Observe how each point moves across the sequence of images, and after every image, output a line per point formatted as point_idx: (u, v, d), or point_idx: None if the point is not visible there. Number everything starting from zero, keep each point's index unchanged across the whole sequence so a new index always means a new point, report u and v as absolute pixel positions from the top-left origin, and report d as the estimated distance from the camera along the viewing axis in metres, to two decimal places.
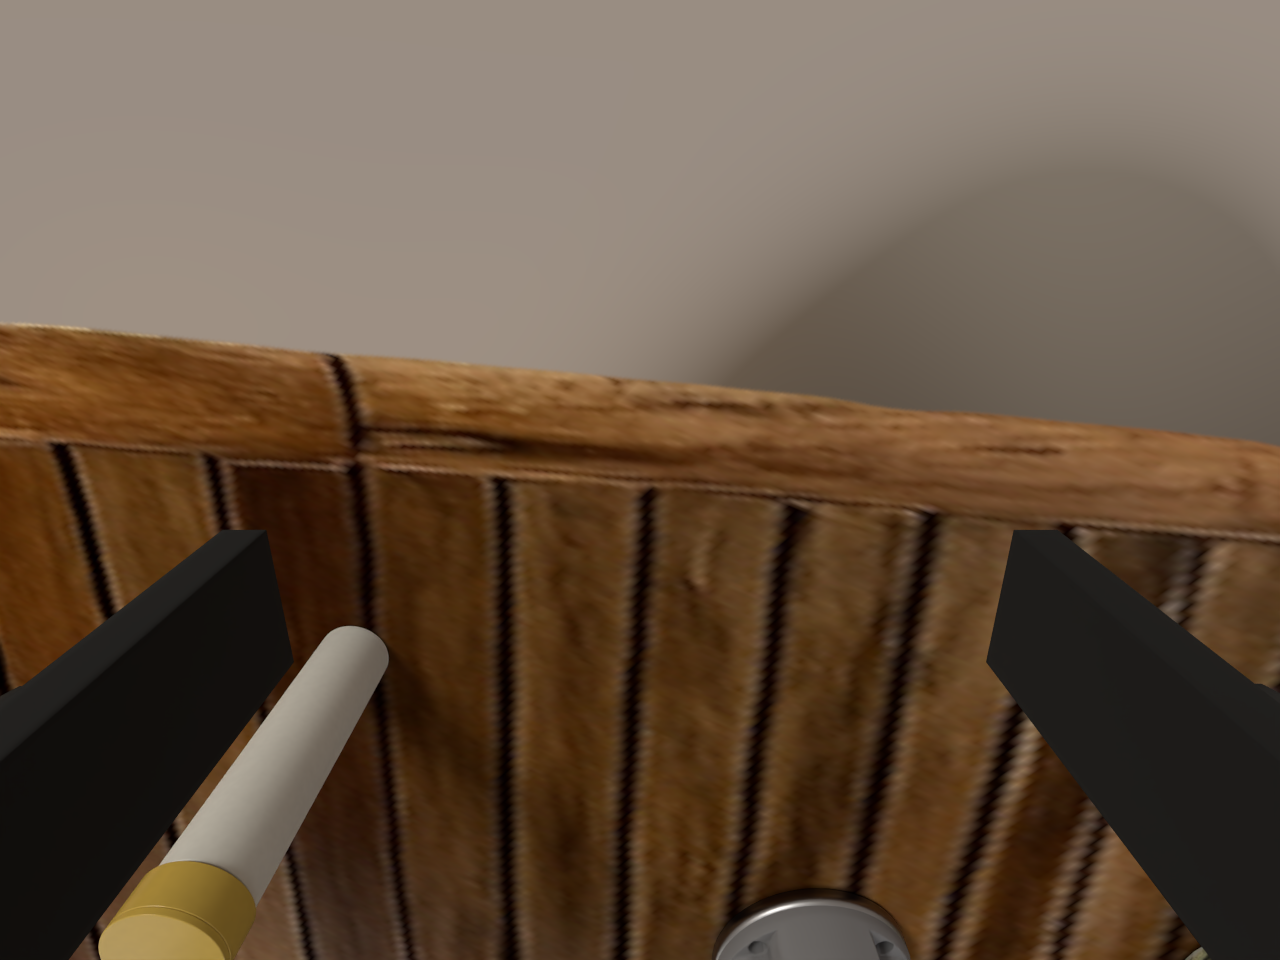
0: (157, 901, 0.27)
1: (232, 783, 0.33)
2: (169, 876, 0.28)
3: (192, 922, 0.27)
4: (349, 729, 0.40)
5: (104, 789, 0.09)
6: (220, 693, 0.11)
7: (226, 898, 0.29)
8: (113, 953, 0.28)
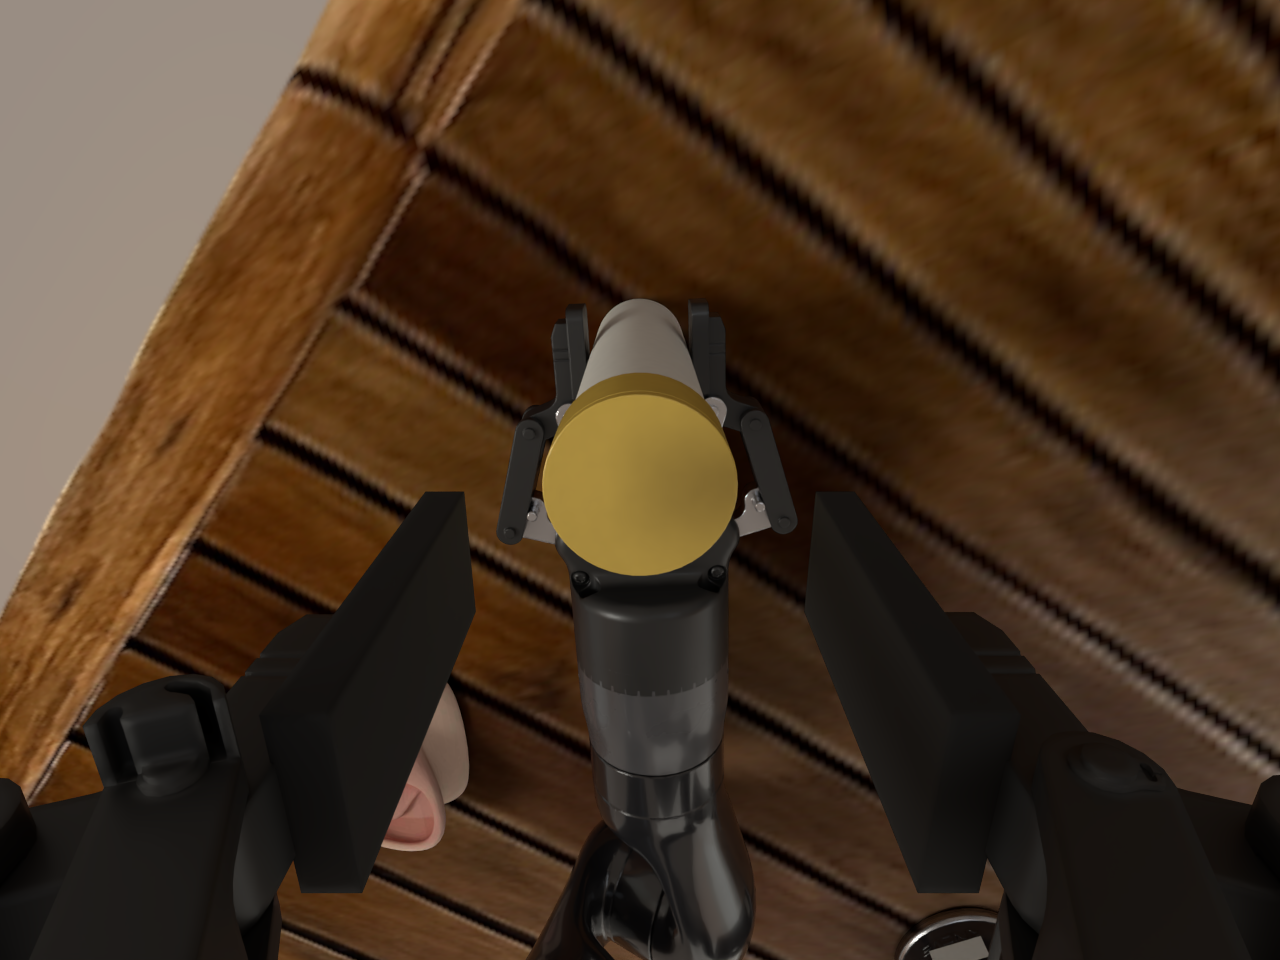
0: (559, 430, 0.18)
1: None
2: (559, 424, 0.19)
3: (610, 399, 0.17)
4: (674, 332, 0.29)
5: (400, 695, 0.10)
6: (445, 629, 0.13)
7: (637, 380, 0.18)
8: (590, 539, 0.18)
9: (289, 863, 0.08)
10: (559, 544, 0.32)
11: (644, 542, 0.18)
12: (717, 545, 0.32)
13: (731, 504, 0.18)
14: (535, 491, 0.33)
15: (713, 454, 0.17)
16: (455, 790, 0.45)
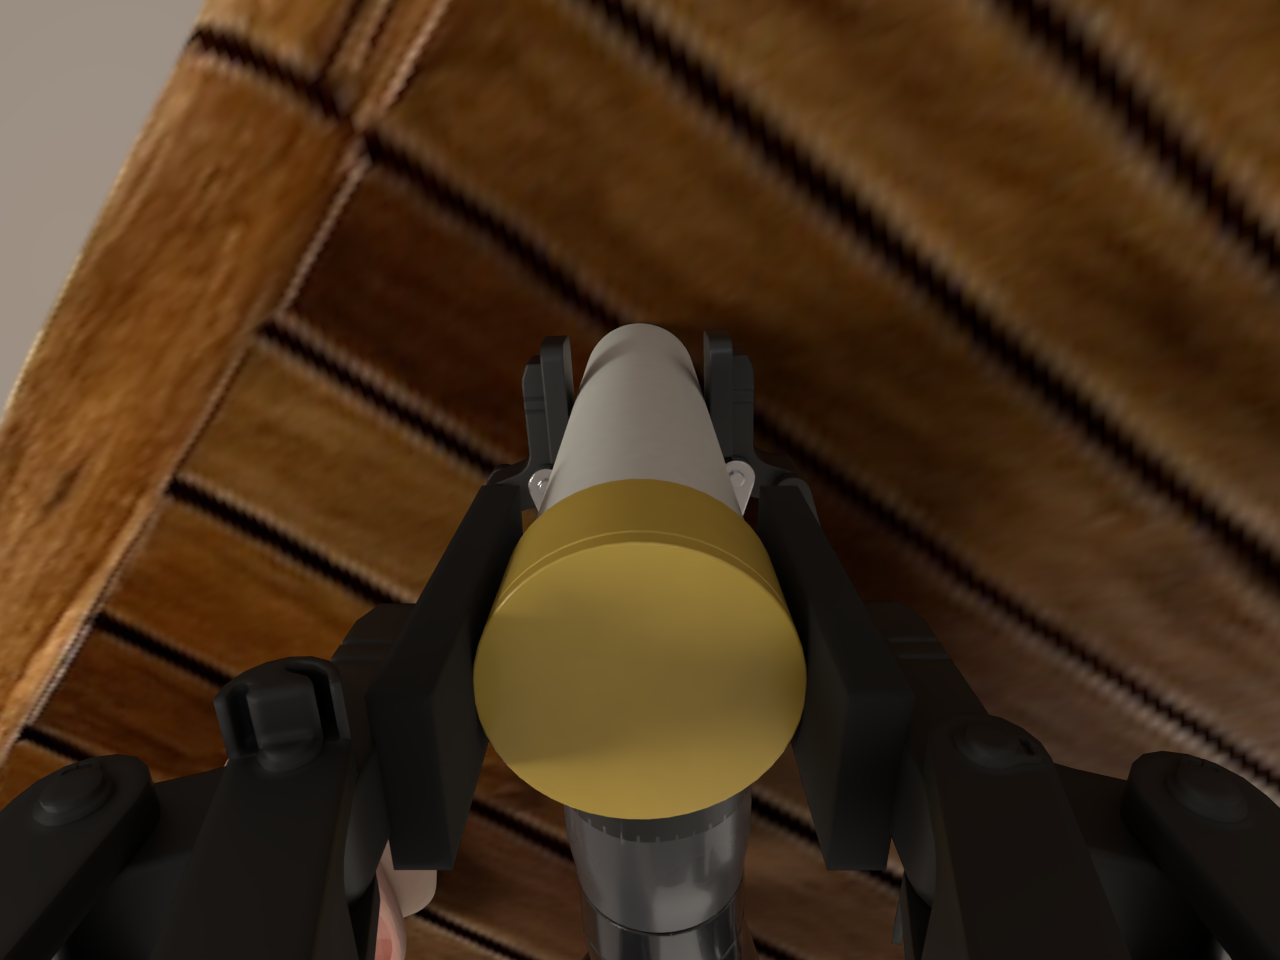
0: (502, 591, 0.10)
1: (551, 474, 0.16)
2: (508, 566, 0.11)
3: (587, 548, 0.10)
4: (686, 374, 0.22)
5: None
6: None
7: (635, 499, 0.11)
8: (556, 767, 0.11)
9: (385, 840, 0.09)
10: None
11: (647, 771, 0.11)
12: None
13: (795, 714, 0.10)
14: None
15: (767, 638, 0.10)
16: (420, 902, 0.38)
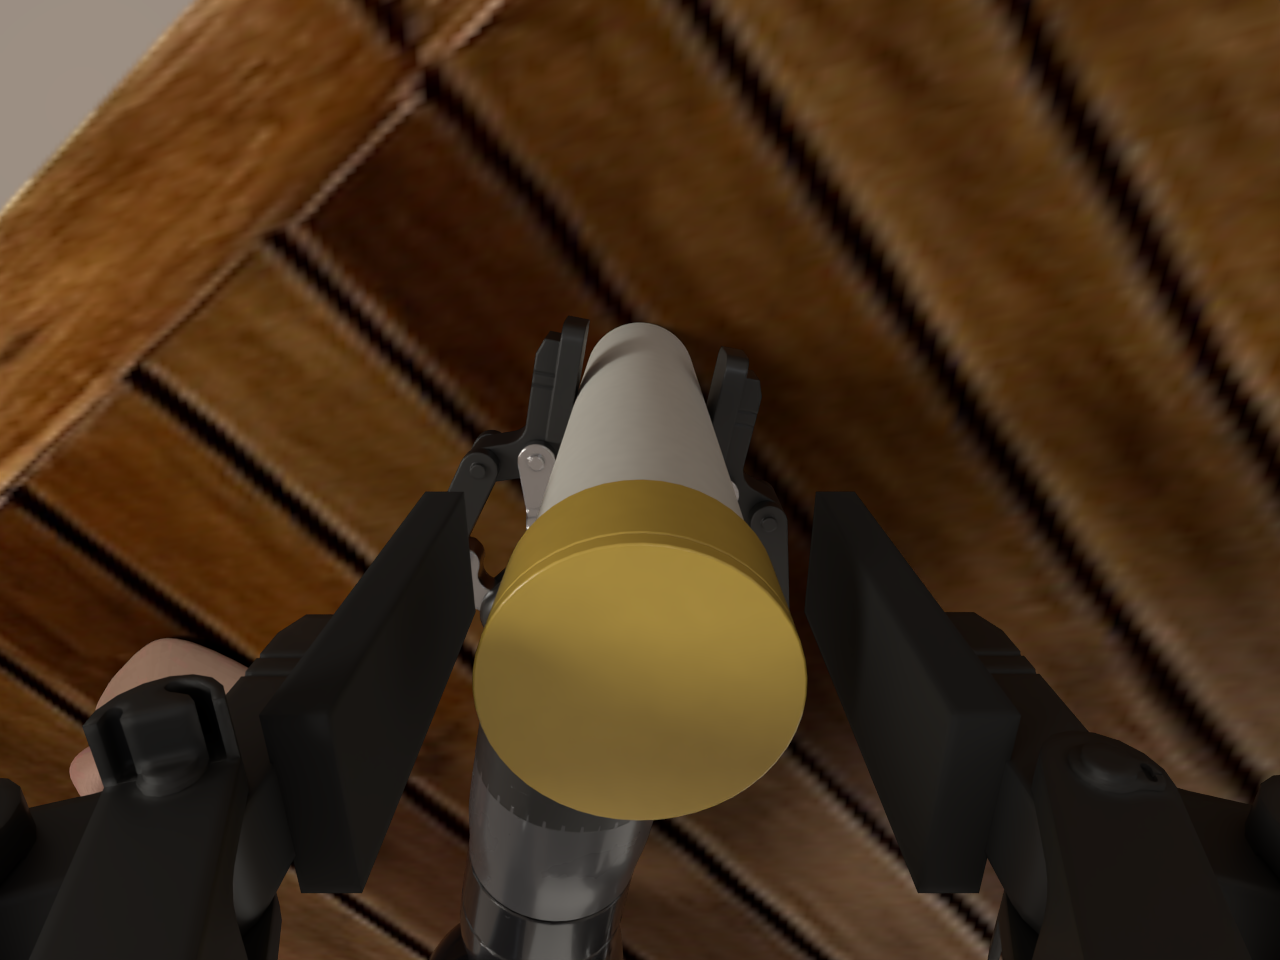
0: None
1: (562, 452, 0.16)
2: None
3: (476, 683, 0.10)
4: (696, 385, 0.22)
5: (400, 695, 0.10)
6: (445, 629, 0.13)
7: None
8: (696, 782, 0.11)
9: (288, 863, 0.08)
10: (485, 613, 0.25)
11: (735, 715, 0.10)
12: None
13: (724, 569, 0.10)
14: (469, 538, 0.25)
15: (618, 572, 0.10)
16: None
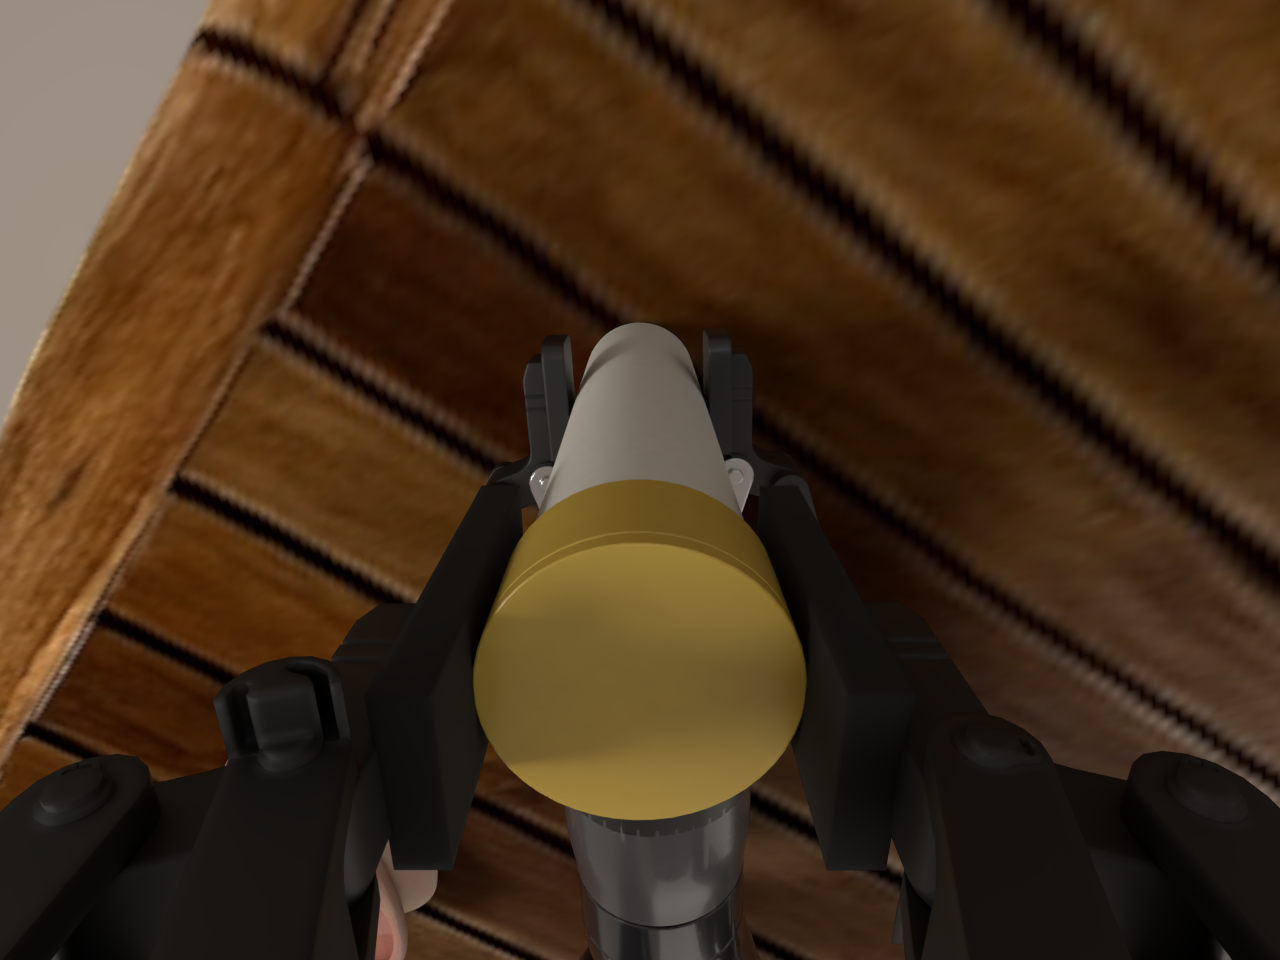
0: None
1: (552, 470, 0.16)
2: None
3: (483, 714, 0.11)
4: (685, 373, 0.22)
5: None
6: None
7: None
8: (720, 769, 0.11)
9: (385, 840, 0.09)
10: None
11: (739, 696, 0.10)
12: None
13: (687, 555, 0.09)
14: None
15: (585, 580, 0.10)
16: (421, 898, 0.38)
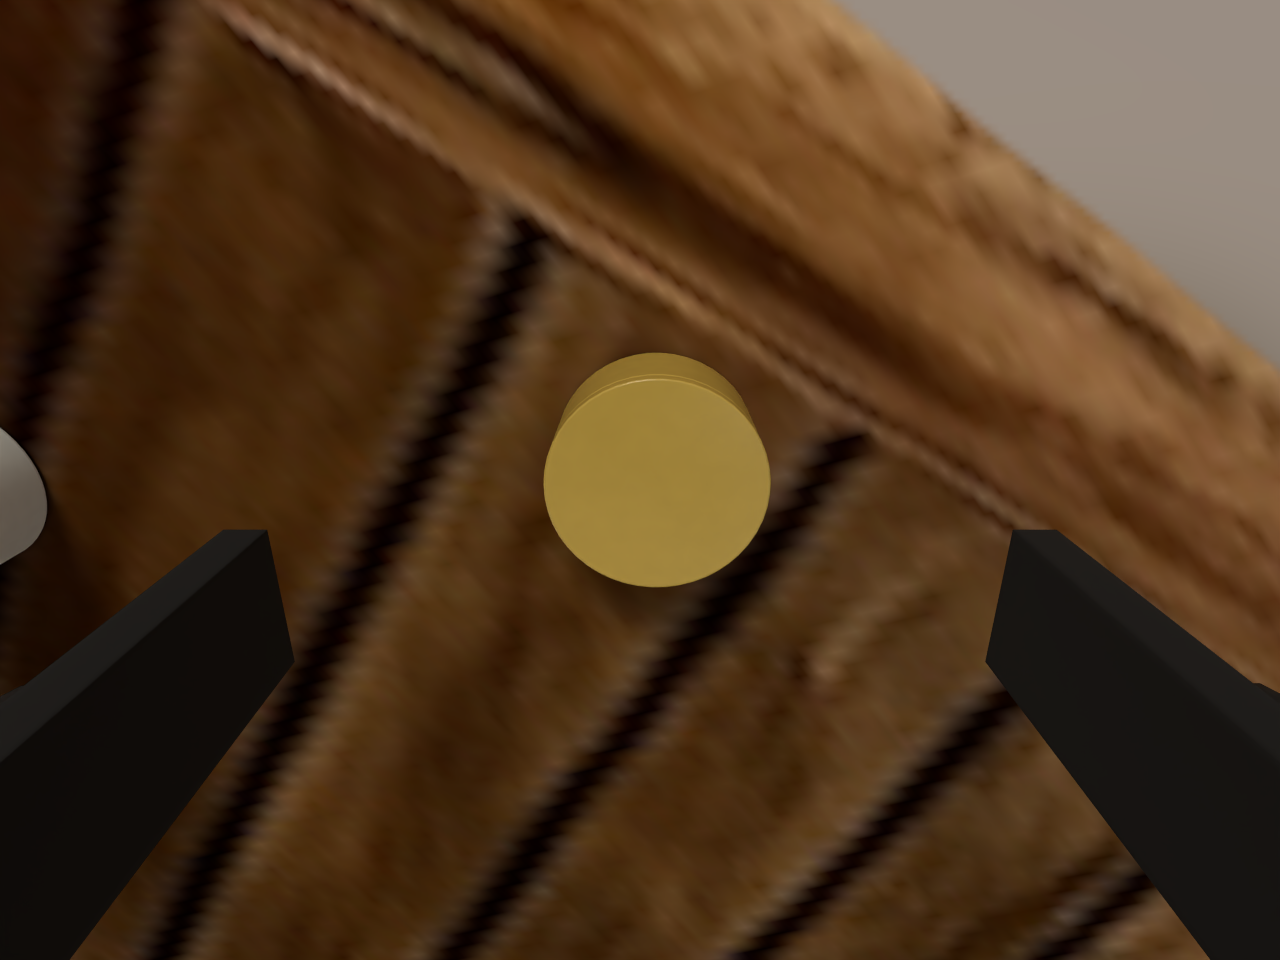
0: None
1: None
2: None
3: (549, 507, 0.15)
4: None
5: (105, 788, 0.09)
6: (221, 693, 0.11)
7: None
8: (711, 547, 0.16)
9: None
10: None
11: (724, 491, 0.15)
12: None
13: (688, 387, 0.14)
14: None
15: (620, 405, 0.14)
16: None
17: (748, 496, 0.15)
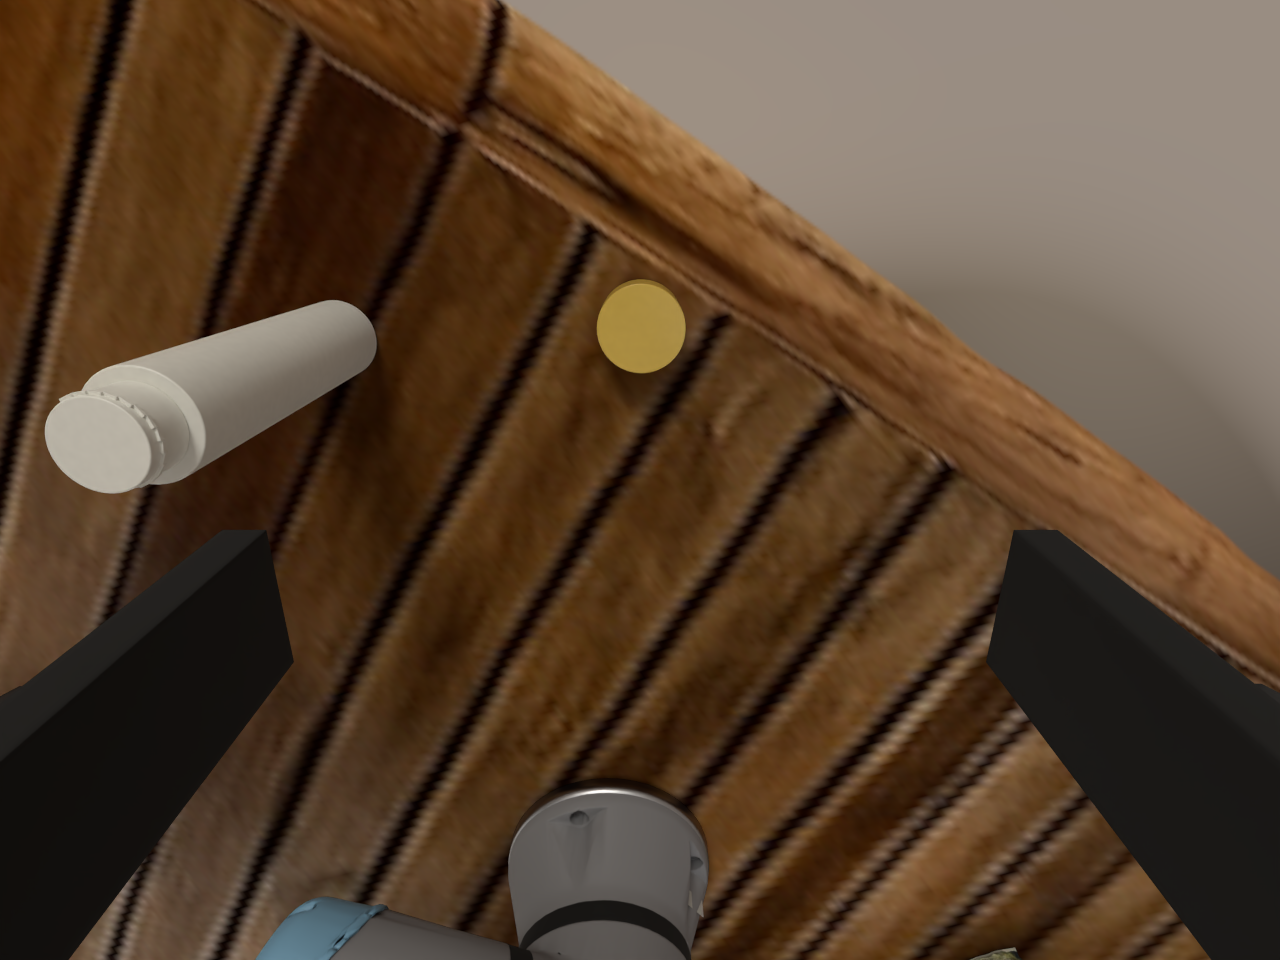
0: None
1: (213, 344, 0.28)
2: None
3: (598, 338, 0.39)
4: (324, 388, 0.35)
5: (104, 789, 0.09)
6: (220, 693, 0.11)
7: None
8: (663, 354, 0.39)
9: None
10: None
11: (667, 330, 0.39)
12: None
13: (653, 287, 0.38)
14: None
15: (627, 294, 0.38)
16: None
17: (677, 332, 0.39)
